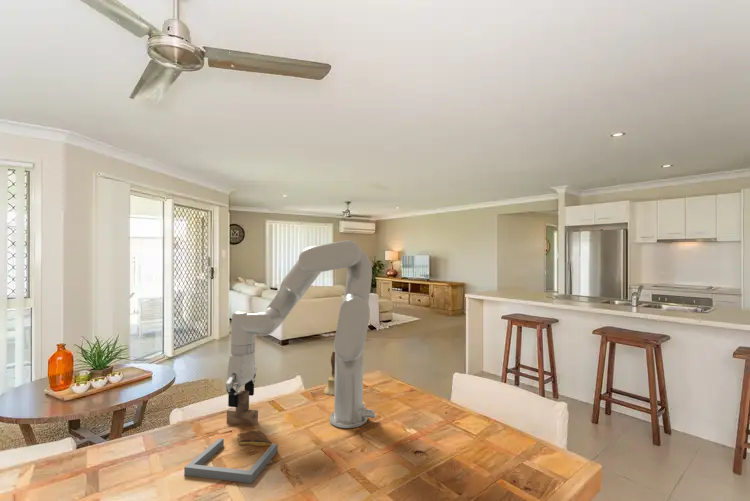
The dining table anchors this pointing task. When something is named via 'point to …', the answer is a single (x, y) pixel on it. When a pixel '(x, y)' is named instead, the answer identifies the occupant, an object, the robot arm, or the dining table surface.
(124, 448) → the dining table surface
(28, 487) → the dining table surface
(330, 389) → the hand bell
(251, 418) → the brown wooden block
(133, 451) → the dining table surface
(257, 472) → the frame
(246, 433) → the shard
